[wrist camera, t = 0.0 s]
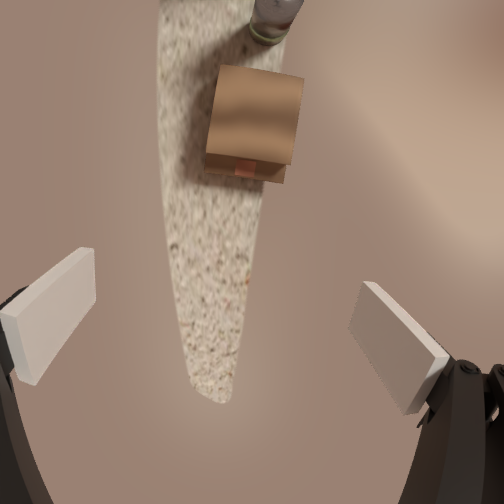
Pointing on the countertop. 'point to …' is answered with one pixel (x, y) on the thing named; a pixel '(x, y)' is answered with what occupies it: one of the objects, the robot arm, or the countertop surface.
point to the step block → (253, 123)
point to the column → (272, 20)
